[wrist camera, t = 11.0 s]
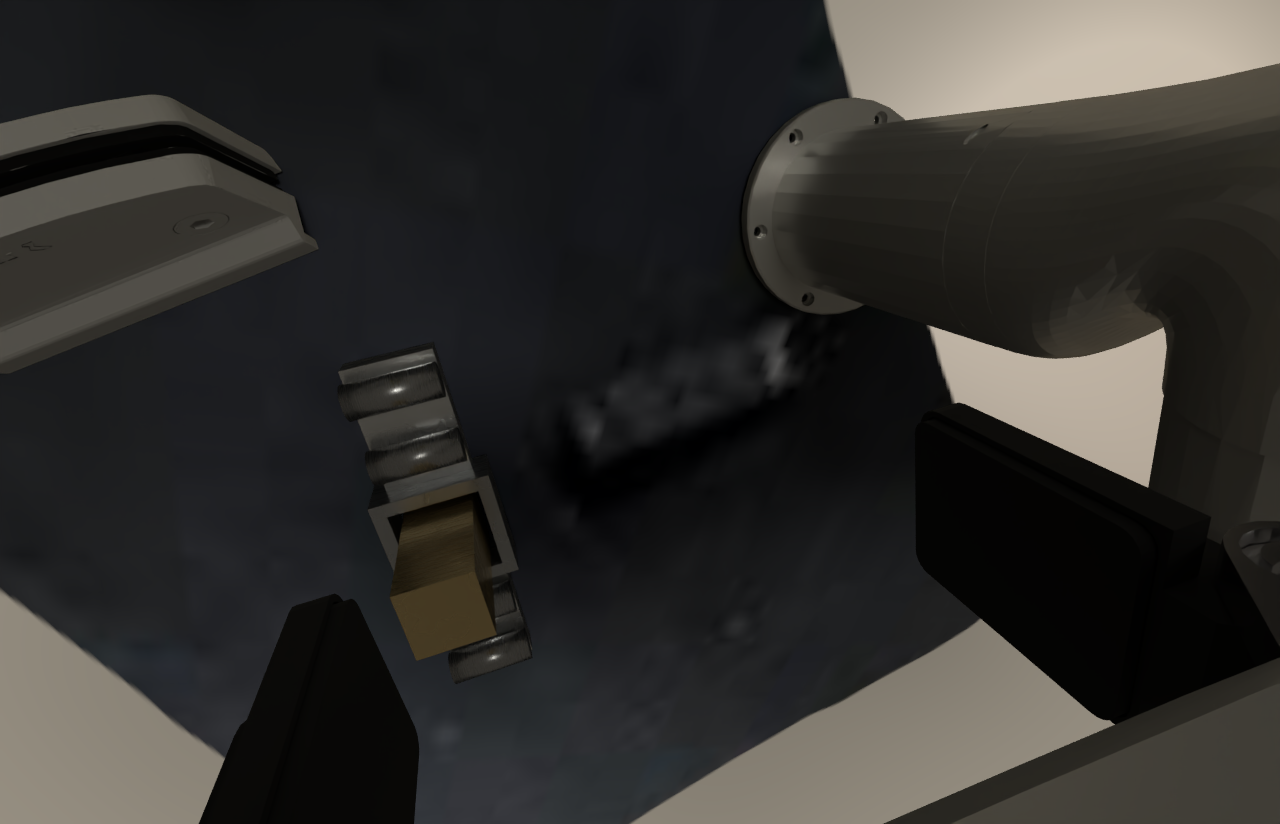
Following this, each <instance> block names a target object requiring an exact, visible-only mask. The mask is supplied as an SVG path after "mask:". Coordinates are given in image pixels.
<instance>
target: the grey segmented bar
mask: <svg viewBox="0 0 1280 824" xmlns="http://www.w3.org/2000/svg"><path fill="white" fill-rule="evenodd" d="M338 373H339V375H340V378H341V380H342V383H343V384H342V385H339V386H338V398H339V402H340V406H341V408H342V411H343V413H344V415H345V417H346V418H347V420H348V421H350V422H352V421H355V420H358V422H359V425H360V427H361V430H362V432H363V435H364V437H365V440H366V442H367V445H368V447H369V450H370V451H367V452H366V453H365V462H366V467H367V471H368V474H369V477H370V479H371V481H372V483H373V484H374V488H373V492H372V495H371V499H370V503H369V506H368V512H369V514H370V517H371V519H372V522H373V524H374V526H375V529H376V531H377V533H378V536H379V538H380V540H381V543H382V545H383V548H384V550H385V552H386V555H387V557H388V559H389V562H390V564H391V567H392V569H393V571H394V570H395V564H396V558H397V552H398V546H399V540H400V534H401V528H402V522H403V519H402V516H401V513H404V512H408V511H411V510H415V509H418V508H421V507H425V506H428V505H432V504H435V503H439V502H442V501H446V500H449V499H453V498H456V497H459V496H463V495H466V494H470V493H473V492H477V491H479V494H480V497H481V500H482V503H483V506H484V509H485V512H486V515H487V518H488V521H489V524H490V527H491V530H492V533H493V536H494V539H492V540H489V542H490V555H491V568H492V581H493V594H494V607H495V619H496V632H497V635H494V636H491V637H488V638H485V639H482V640H479V641H476V642H473V643H470V644H467V645H464V646H461V647H457V648H454V649H451V650H450V651H451V652H450V653H449V655H448V661H449V668H450V672H451V676H452V679H453V681H454V683H455V684H458V683H461V682H464V681H467V680H470V679H473V678H475V677H478V676H481V675H484V674H487V673H490V672H493V671H496V670H499V669H502V668H505V667H508V666H511V665H514V664H516V663H519V662H522V661H525V660H528V659H531V658H532V651H531V650H532V643H531V637H530V633H529V630H528V627H527V624H526V620H525V617H524V614H523V611H522V608H521V605H520V602H519V599H518V596H517V593H516V590H515V587H514V584H513V581H512V578H511V575H510V572H512V571H515V570H519V568H518V562H517V555H516V548H515V542H514V539H513V536H512V533H511V530H510V527H509V524H508V521H507V517H506V514H505V511H504V508H503V505H502V502H501V499H500V495H499V492H498V489H497V486H496V483H495V480H494V477H493V473H492V470H491V467H490V464H489V461H488V458H487V455H486V454H485V455H481V456H478V457H474V458H472V457H471V454H470V451H469V448H468V445H467V442H466V439H465V436H464V433H463V430H462V427H461V424H460V421H459V418H458V415H457V411H456V408H455V405H454V402H453V399H452V396H451V393H450V390H449V387H448V384H447V381H446V378H445V375H444V372H443V369H442V366H441V363H440V360H439V357H438V354H437V351H436V348H435V345H434V342H431V343H427V344H423V345H419V346H415V347H410V348H406V349H402V350H398V351H394V352H390V353H386V354H382V355H378V356H374V357H370V358H366V359H361V360H357V361H353V362H349V363H345V364H343V365H342V366H341V368H340V370H339V371H338Z"/></svg>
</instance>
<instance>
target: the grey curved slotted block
mask: <svg viewBox="0 0 1280 824" xmlns="http://www.w3.org/2000/svg"><path fill="white" fill-rule="evenodd" d="M279 172H281V169H280V168H279V167H278V165H277V164H276V163H275V161H274V160H273V159H272V158H271V156H270V155H269V154H268V153H267V152H266V151H265V150H264V149H262V148H261V147H259V146H257V145H255V144H253V143H252V142H250V141H248V140H246V139H244V138H243V137H241V136H239V135H237V134H235V133H234V132H232V131H230V130H228V129H226V128H225V127H223V126H221V125H219V124H217V123H216V122H214V121H212V120H210V119H208V118H207V117H205V116H203V115H201V114H199V113H198V112H196V111H194V110H192V109H190V108H189V107H187V106H185V105H183V104H181V103H180V102H178V101H176V100H174V99H172V98H169V97H165V96H160V95H143V96H136V97H129V98H123V99H116V100H109V101H103V102H98V103H92V104H87V105H81V106H76V107H70V108H65V109H61V110H56V111H52V112H48V113H43V114H39V115H35V116H31V117H27V118H22V119H18V120H14V121H10V122H6V123H2V124H0V373H7V374H9V373H12V372H14V371H17V370H19V369H22V368H24V367H27V366H29V365H32V364H34V363H37V362H39V361H42V360H44V359H47V358H49V357H52V356H54V355H57V354H59V353H62V352H64V351H67V350H69V349H72V348H74V347H76V346H79V345H81V344H84V343H86V342H89V341H91V340H94V339H96V338H99V337H101V336H104V335H106V334H109V333H111V332H114V331H116V330H119V329H121V328H124V327H126V326H129V325H131V324H134V323H136V322H139V321H141V320H144V319H146V318H149V317H151V316H154V315H156V314H159V313H161V312H164V311H166V310H169V309H171V308H174V307H176V306H179V305H181V304H184V303H186V302H188V301H191V300H193V299H196V298H198V297H201V296H203V295H206V294H208V293H211V292H213V291H216V290H218V289H221V288H223V287H226V286H228V285H231V284H233V283H236V282H238V281H241V280H243V279H246V278H248V277H251V276H253V275H256V274H258V273H261V272H263V271H266V270H268V269H271V268H273V267H276V266H278V265H281V264H283V263H286V262H288V261H291V260H293V259H295V258H298V257H300V256H303V255H305V254H308V253H310V252H313V251H315V250H318V246H317V243H316V240H315V239H313V238H312V237H310V236H309V235H307V234H305V233H304V230H303V227H302V223H301V219H300V216H299V212H298V208H297V205H296V201H295V198H294V196H292V195H290V194H287V193H285V192H283V190H282V189H281V188H278V187H276V186H274V185H272V184H270V183H271V182H274V181H276V180H277V178H276V176H275V174H276V173H279Z"/></svg>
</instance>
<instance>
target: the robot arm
mask: <svg viewBox="0 0 1280 824" xmlns="http://www.w3.org/2000/svg"><path fill="white" fill-rule="evenodd" d="M874 119H875V122H874ZM790 134H791V136H792V140H791V142H790V140H789V135H790ZM741 221H742V235H743V242H744V246H745V250H746V254H747V258H748V260H749V262H750V264H751V266H752V268H753V271H754V273H755V275H756V276H757V277H758V279H759V280H760V281H761V283H762V284H763V285H764V287H765V288H766V289H767V290H768V291H769V292H770V293H771V294H773V295H774V296H775V297H776V298H777V299H778V300H780V301H782V302H784V303H786V304H788V305H789V306H791V307H793V308H796V309H799V310H801V311H804V312H808V313H815V314H821V315H827V314H840V313H844V312H848V311H851V310H855V309H857V308H859V307H861V306H863V305H868V306H871V307H874V308H877V309H880V310H883V311H886V312H889V313H892V314H896V315H899V316H902V317H905V318H908V319H911V320H914V321H917V322H920V323H923V324H926V325H930V326H933V327H936V328H939V329H942V330H945V331H948V332H952V333H954V334H958V335H961V336H964V337H967V338H970V339H973V340H976V341H979V342H982V343H985V344H989V345H992V346H995V347H999V348H1003V349H1005V350H1009V351H1012V352H1015V353H1020V354H1024V355H1029V356H1033V357H1041V358H1055V359H1057V358H1071V357H1081V356H1087V355H1091V354H1095V353H1099V352H1102V351H1105V350H1109V349H1112V348H1116V347H1119V346H1122V345H1124V344H1127V343H1129V342H1132V341H1134V340H1136V339H1139V338H1141V337H1144V336H1146V335H1148V334H1150V333H1153V332H1155V331H1157V330H1159V329H1161V328H1163V327H1164V330H1165V333H1166V343H1167V351H1166V360H1165V369H1164V376H1163V383H1162V390H1163V394H1164V398H1163V405H1162V410H1161V417H1160V422H1159V428H1158V434H1157V440H1156V446H1155V452H1154V458H1153V463H1152V469H1151V475H1150V481H1149V487H1148V488H1147V487H1145V486H1143V485H1141V484H1138V483H1136V482H1134V481H1132V480H1130V479H1127V478H1125V477H1123V476H1121V475H1119V474H1116V473H1114V472H1112V471H1110V470H1108V469H1106V468H1103V467H1101V466H1099V465H1097V464H1095V463H1092V462H1090V461H1088V460H1086V459H1084V458H1082V457H1079V456H1077V455H1075V454H1073V453H1071V452H1068V451H1066V450H1064V449H1062V448H1060V447H1057V446H1055V445H1053V444H1051V443H1049V442H1047V441H1044V440H1042V439H1040V438H1037V437H1036V436H1033V435H1031V434H1029V433H1027V432H1025V431H1022V430H1020V429H1018V428H1016V427H1014V426H1012V425H1009V424H1007V423H1005V422H1003V421H1001V420H998V419H996V418H994V417H992V416H990V415H987V414H985V413H983V412H981V411H979V410H977V409H974V408H972V407H970V406H968V405H966V404H962V403H955V404H951V405H948V406H945V407H942V408H938V409H935V410H932V411H928V412H927V413H925V414H924V416H923V418H922V420H921V423H919V424H918V425H917V427H916V431H915V474H916V554H917V557H918V560H919V562H920V564H921V566H922V567H923V569H924V570H925V571H926V572H927V573H928V574H929V575H931V576H932V577H933V578H934V579H935V580H936V581H938V582H939V583H940V584H941V585H942V586H943V587H945V588H946V589H947V590H948V591H949V592H950V593H952V594H953V595H954V596H955V597H956V598H957V599H959V600H960V601H961V602H962V603H963V604H964V605H966V606H967V607H968V608H969V609H970V610H971V611H973V612H974V613H975V614H976V615H977V616H978V617H980V618H981V619H982V620H983V621H984V622H985V623H987V624H988V625H989V626H990V627H991V628H993V629H994V630H995V631H996V632H997V633H998V634H1000V635H1001V636H1002V637H1003V638H1004V639H1005V640H1007V641H1008V642H1009V643H1010V644H1011V645H1012V646H1014V647H1015V648H1016V649H1017V650H1018V651H1019V652H1021V653H1022V654H1023V655H1024V656H1025V657H1026V658H1028V659H1029V660H1030V661H1031V662H1032V663H1033V664H1035V665H1036V666H1037V667H1038V668H1039V669H1041V670H1042V671H1043V672H1044V673H1045V674H1046V675H1047V676H1049V677H1050V678H1051V679H1052V680H1053V681H1055V682H1056V683H1057V684H1058V685H1059V686H1060V687H1061V688H1063V689H1064V690H1065V691H1066V692H1067V693H1068V694H1070V695H1071V696H1072V697H1073V698H1074V699H1076V700H1077V701H1078V702H1079V703H1080V704H1081V705H1082V706H1084V707H1085V708H1086V709H1087V710H1088V711H1090V712H1091V713H1092V714H1094V715H1095V716H1096V717H1098V718H1100V719H1103V720H1110V721H1111V722H1112V723H1114V724H1115V725H1113V726H1111V727H1109V728H1106V729H1104V730H1102V731H1099V732H1097V733H1095V734H1092V735H1090V736H1087V737H1085V738H1083V739H1080V740H1078V741H1076V742H1073V743H1071V744H1069V745H1066V746H1064V747H1062V748H1059V749H1057V750H1054V751H1052V752H1050V753H1047V754H1045V755H1043V756H1040V757H1038V758H1036V759H1033V760H1031V761H1028V762H1026V763H1024V764H1021V765H1019V766H1017V767H1014V768H1012V769H1010V770H1007V771H1005V772H1003V773H1000V774H998V775H996V776H993V777H991V778H989V779H986V780H984V781H982V782H980V783H977V784H975V785H973V786H970V787H968V788H965V789H963V790H961V791H958V792H956V793H954V794H951V795H949V796H947V797H945V798H942V799H940V800H938V801H935V802H933V803H931V804H928V805H926V806H924V807H921V808H919V809H917V810H914V811H912V812H910V813H907V814H905V815H903V816H900V817H898V818H896V819H893V820H891V821H889V822H887V823H884V824H1280V64H1275V65H1271V66H1266V67H1262V68H1257V69H1253V70H1249V71H1244V72H1239V73H1235V74H1231V75H1226V76H1222V77H1217V78H1213V79H1208V80H1202V81H1196V82H1190V83H1184V84H1178V85H1172V86H1167V87H1161V88H1154V89H1148V90H1141V91H1136V92H1129V93H1122V94H1116V95H1108V96H1100V97H1092V98H1084V99H1076V100H1068V101H1061V102H1055V103H1047V104H1038V105H1030V106H1023V107H1014V108H1006V109H997V110H989V111H980V112H972V113H964V114H955V115H947V116H939V117H931V118H922V119H914V120H906V121H905V120H904V119H903V118H902V117H901V116H900V115H898V114H897V113H896V112H895V111H893V110H892V109H891V108H889V107H886V106H884V105H882V104H880V103H878V102H875V101H872V100H866V99H860V98H846V99H836V100H831V101H827V102H823V103H819V104H817V105H815V106H812V107H810V108H808V109H806V110H803V111H801V112H800V113H799V114H797V115H796V116H794V117H793V118H792V119H790V120H789V121H787V122H786V123H785V124H784V125H783V126H782V127H781V128H780V129H779V130H778V131H777V132H776V133H775V134H774V135H773V136H772V137H771V138H770V140H769V141H768V143H767V144H766V146H765V147H764V149H763V150H762V152H761V153H760V155H759V156H758V158H757V160H756V162H755V165H754V167H753V169H752V171H751V173H750V176H749V179H748V182H747V186H746V190H745V194H744V197H743V207H742V217H741ZM756 227H757V230H758V231H757V233H756V235H754V229H755V228H756ZM803 296H804V298H803V300H802V297H803ZM418 761H419V742H418V736H417V732H416V729H415V726H414V724H413V722H412V720H411V718H410V715H409V713H408V711H407V709H406V707H405V705H404V703H403V700H402V698H401V696H400V694H399V692H398V690H397V688H396V685H395V683H394V681H393V679H392V677H391V675H390V673H389V670H388V668H387V666H386V664H385V662H384V660H383V657H382V655H381V653H380V651H379V649H378V647H377V645H376V642H375V640H374V638H373V636H372V634H371V632H370V630H369V627H368V625H367V623H366V621H365V619H364V617H363V615H362V612H361V610H360V608H359V606H358V604H357V603H356V602H355V601H354V600H353V599H349V600H346V601H343V600H342V599H341V598H340V597H339V596H338V595H337V594H332V595H329V596H325V597H322V598H319V599H316V600H312V601H309V602H306V603H303V604H299V605H296V606H294V607H292V609H291V610H290V612H289V614H288V617H287V619H286V622H285V624H284V627H283V629H282V632H281V634H280V637H279V640H278V642H277V645H276V647H275V650H274V652H273V655H272V657H271V660H270V662H269V665H268V668H267V670H266V673H265V675H264V678H263V680H262V683H261V685H260V688H259V690H258V693H257V696H256V698H255V701H254V703H253V706H252V708H251V711H250V713H249V716H248V718H247V720H246V721H245V722H244V723H243V724H241V725H240V727H239V729H238V730H237V732H236V734H235V736H234V738H233V740H232V743H231V745H230V748H229V750H228V753H227V755H226V758H225V760H224V763H223V765H222V768H221V770H220V773H219V775H218V778H217V780H216V782H215V785H214V787H213V790H212V792H211V795H210V797H209V800H208V802H207V805H206V807H205V810H204V812H203V815H202V817H201V820H200V822H199V824H414V816H415V802H416V789H417V775H418Z"/></svg>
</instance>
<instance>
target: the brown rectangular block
mask: <svg viewBox="0 0 1280 824" xmlns="http://www.w3.org/2000/svg"><path fill="white" fill-rule="evenodd" d="M390 599H391V601H392V604H393V606H394V608H395V611H396V613H397V615H398V618H399V620H400V623H401V625H402V627H403V630H404V632H405V634H406V637H407V639H408V642H409V644H410V646H411V649H412V651H413V653H414V656H415V658H416V660H420V659H423V658H427V657H430V656H433V655H436V654H439V653H442V652H445V651H448V650H451V649H454V648H457V647H461V646H464V645H467V644H470V643H473V642H476V641H479V640H482V639H485V638H488V637H491V636H494V635H497V632H496V619H495V607H494V594H493V581H492V568H491V555H490V542H489V531H488V528H487V525H486V522H485V519H484V516H483V513H482V510H481V507H480V504H479V501H478V498H477V494H476V492H473V493H470V494H466V495H463V496H459V497H456V498H453V499H449V500H446V501H442V502H439V503H435V504H432V505H428V506H425V507H421V508H418V509H415V510H411V511H408V512H404V516H403V522H402V528H401V534H400V540H399V546H398V552H397V558H396V564H395V570H394V576H393V581H392V587H391V593H390Z"/></svg>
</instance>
